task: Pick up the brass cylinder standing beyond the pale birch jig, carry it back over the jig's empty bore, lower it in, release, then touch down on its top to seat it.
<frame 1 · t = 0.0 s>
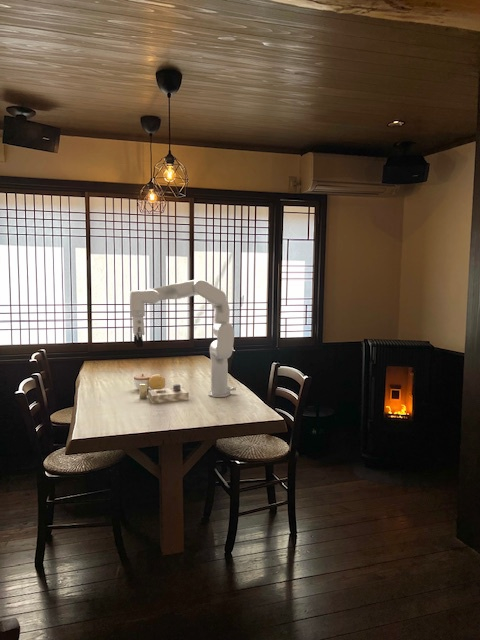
hand: (138, 345, 251), 31 cm above the table, fingers open, 9 cm apart
brass cylinder: (143, 398, 263), on the table
jig: (168, 398, 263), on the table
lidded jar: (143, 389, 284), on the table
stress ball: (157, 391, 279), on the table
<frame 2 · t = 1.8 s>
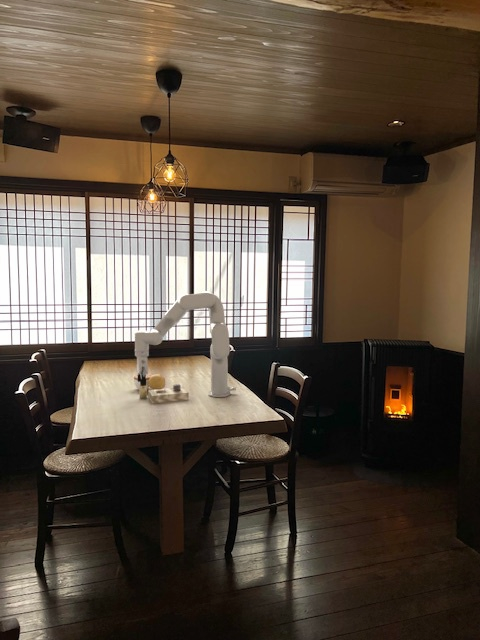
hand: (141, 383, 262), 8 cm above the table, fingers open, 9 cm apart
nothing on the table moved.
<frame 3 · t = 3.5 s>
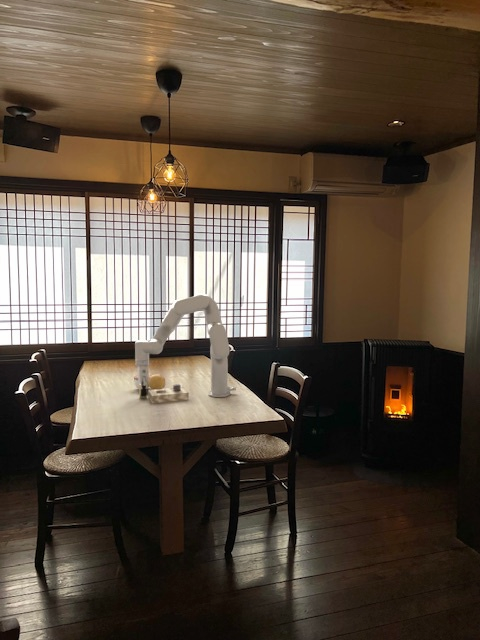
hand: (143, 394, 263), 2 cm above the table, fingers closed on brass cylinder, 4 cm apart
brass cylinder: (143, 398, 263), on the table, touching gripper
everything else where it was.
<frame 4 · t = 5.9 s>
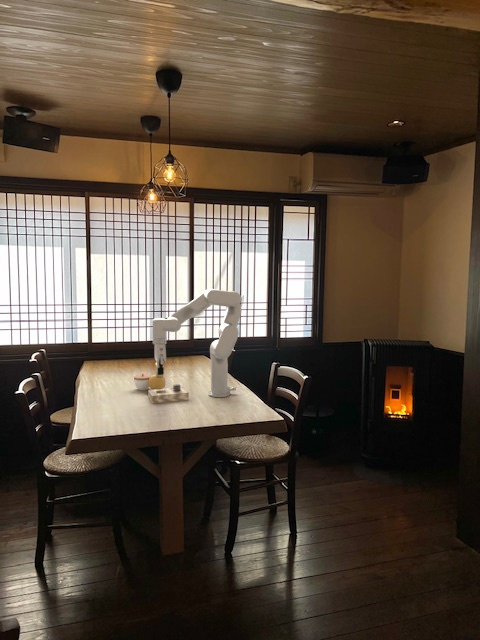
hand: (159, 373, 260), 14 cm above the table, fingers closed on brass cylinder, 4 cm apart
brass cylinder: (159, 377, 260), point 12 cm above the table, touching gripper
everything else where it was.
when the fingers open (5 cm above the table, at t = 8.4 s): brass cylinder drops 2 cm, resting in jig.
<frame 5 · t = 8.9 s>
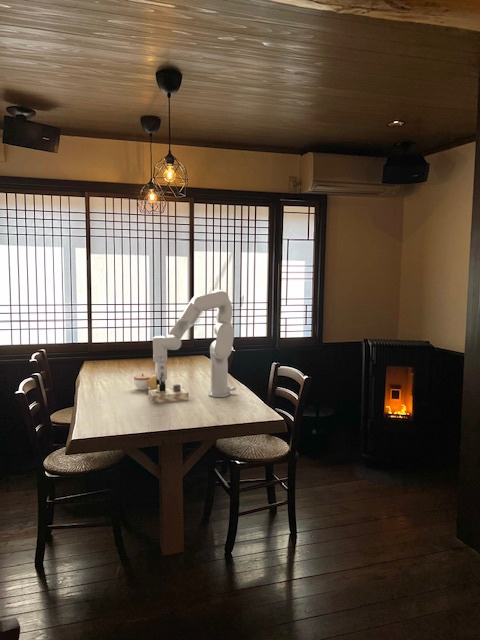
hand: (160, 389, 261), 6 cm above the table, fingers open, 9 cm apart
brass cylinder: (161, 399, 261), resting in jig
everything else where it was.
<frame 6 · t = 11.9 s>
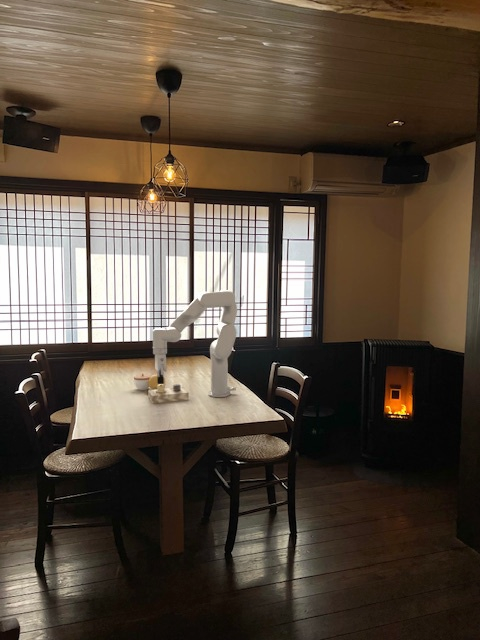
hand: (160, 383, 260), 9 cm above the table, fingers closed
nothing on the table moved.
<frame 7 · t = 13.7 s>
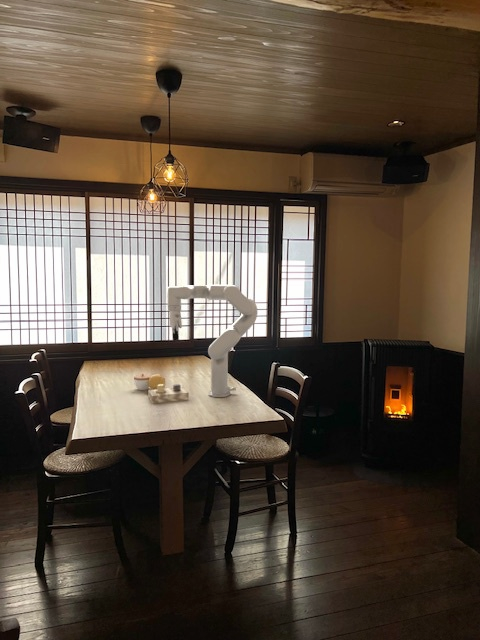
hand: (175, 340, 269), 31 cm above the table, fingers closed
nothing on the table moved.
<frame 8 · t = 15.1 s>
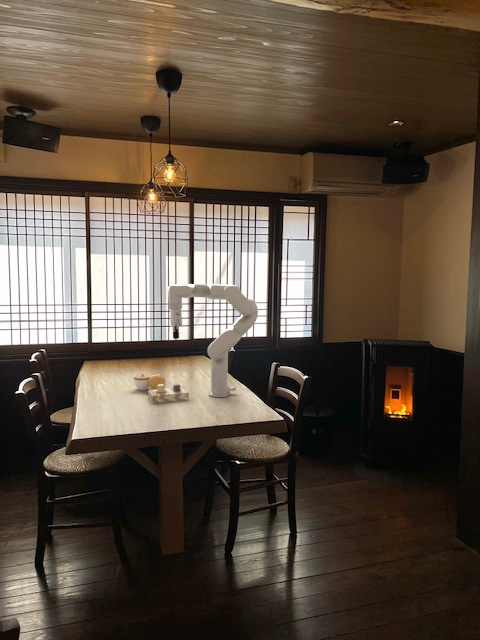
hand: (176, 338, 270), 32 cm above the table, fingers closed
nothing on the table moved.
at the end: brass cylinder 0.1 cm from the target spot on the jig, point 0.0 cm above the jig's base; brass cylinder tilted 0°; the gripper is holding nothing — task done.
